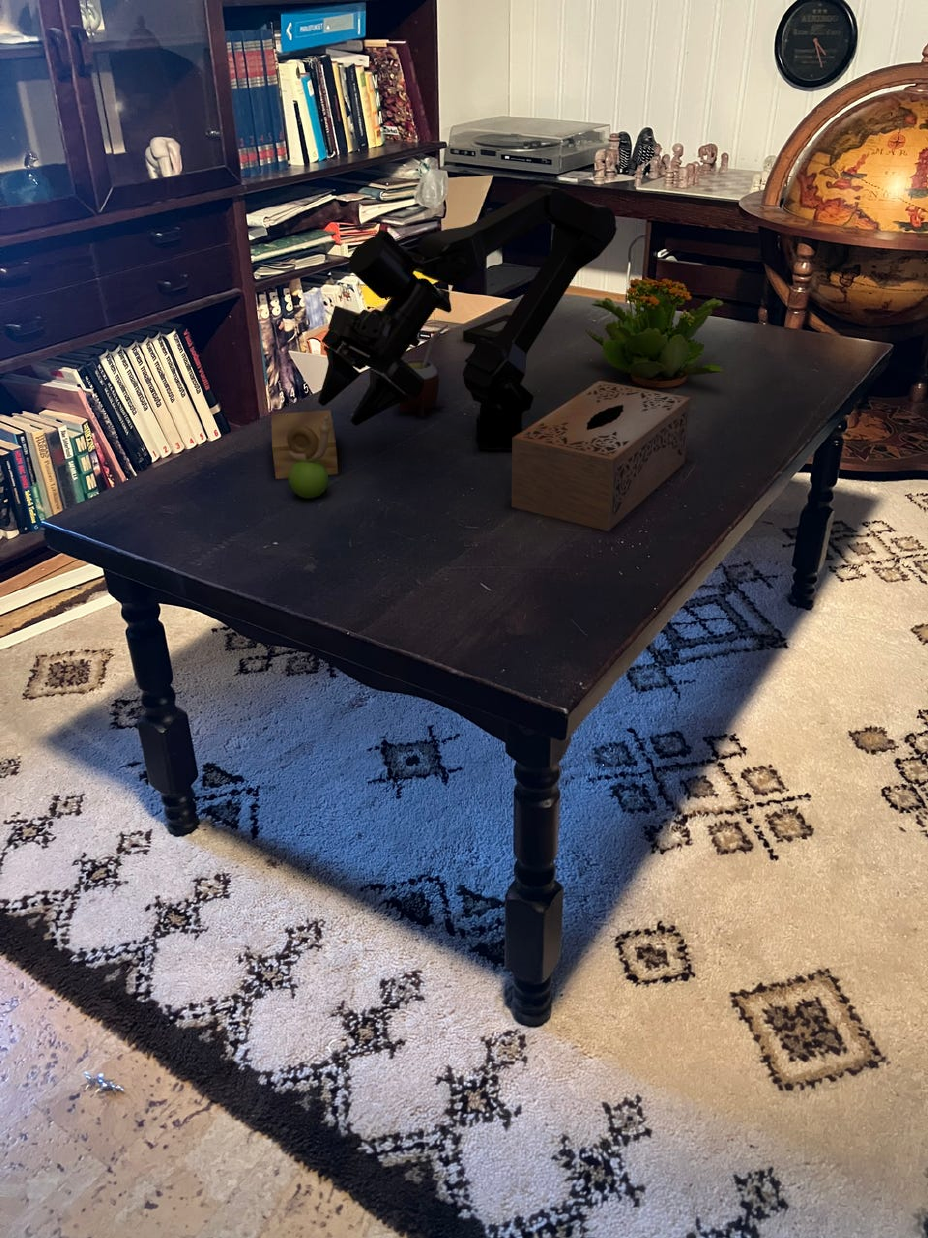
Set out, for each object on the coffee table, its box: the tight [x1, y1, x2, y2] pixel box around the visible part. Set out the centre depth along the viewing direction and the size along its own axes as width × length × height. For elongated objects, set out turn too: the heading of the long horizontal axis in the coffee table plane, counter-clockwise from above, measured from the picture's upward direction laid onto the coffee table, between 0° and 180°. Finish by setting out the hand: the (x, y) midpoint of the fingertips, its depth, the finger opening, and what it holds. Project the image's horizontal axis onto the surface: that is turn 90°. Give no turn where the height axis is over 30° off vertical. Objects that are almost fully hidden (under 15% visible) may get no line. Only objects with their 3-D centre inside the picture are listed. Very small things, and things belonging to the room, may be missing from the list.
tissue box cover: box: [511, 380, 692, 533], centre depth 146 cm, size 26×14×10 cm, turn 148°
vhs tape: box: [462, 314, 512, 345], centre depth 208 cm, size 8×14×2 cm, turn 141°
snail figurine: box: [287, 415, 330, 499], centre depth 143 cm, size 5×6×12 cm
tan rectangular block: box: [270, 409, 339, 480], centre depth 156 cm, size 9×13×5 cm
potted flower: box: [583, 276, 725, 389], centre depth 180 cm, size 25×24×18 cm
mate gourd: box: [398, 324, 449, 419], centre depth 170 cm, size 8×8×15 cm
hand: (336, 413), depth 142 cm, fingers open, 9 cm apart
